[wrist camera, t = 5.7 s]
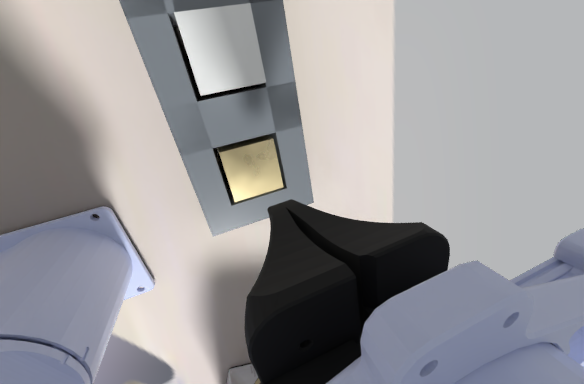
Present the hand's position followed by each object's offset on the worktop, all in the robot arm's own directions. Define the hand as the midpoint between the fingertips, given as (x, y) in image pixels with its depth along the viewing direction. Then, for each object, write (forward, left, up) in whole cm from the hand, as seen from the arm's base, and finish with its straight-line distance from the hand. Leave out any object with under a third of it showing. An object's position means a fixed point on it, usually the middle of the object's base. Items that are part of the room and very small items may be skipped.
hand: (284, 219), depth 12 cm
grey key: (0, +8, -7) cm, 11 cm away
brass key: (0, +1, -8) cm, 8 cm away
